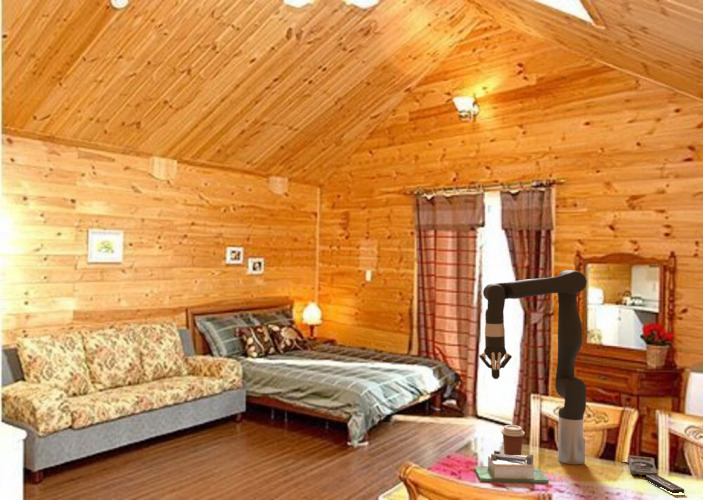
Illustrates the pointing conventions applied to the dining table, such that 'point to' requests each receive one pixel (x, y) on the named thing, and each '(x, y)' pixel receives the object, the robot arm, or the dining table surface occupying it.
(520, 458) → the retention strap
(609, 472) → the dining table surface
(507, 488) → the dining table surface
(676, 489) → the multiport hub
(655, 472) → the graphics card
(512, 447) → the coffee cup
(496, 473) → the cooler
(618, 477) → the dining table surface
